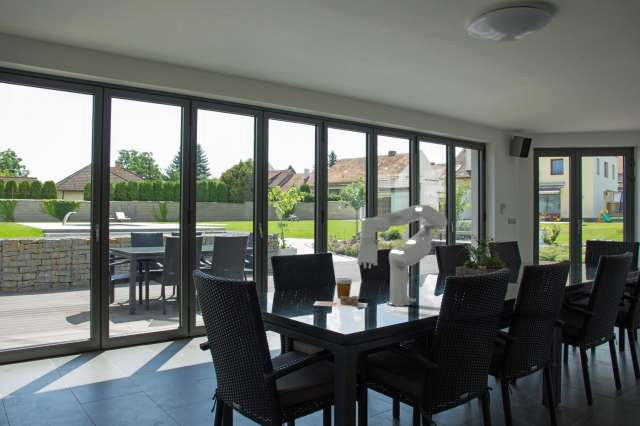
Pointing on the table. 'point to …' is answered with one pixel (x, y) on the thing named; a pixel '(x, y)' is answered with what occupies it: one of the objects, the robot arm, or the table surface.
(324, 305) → the push board
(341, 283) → the disposable coffee cup
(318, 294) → the table surface
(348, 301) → the walnut T-block
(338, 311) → the table surface
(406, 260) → the robot arm
